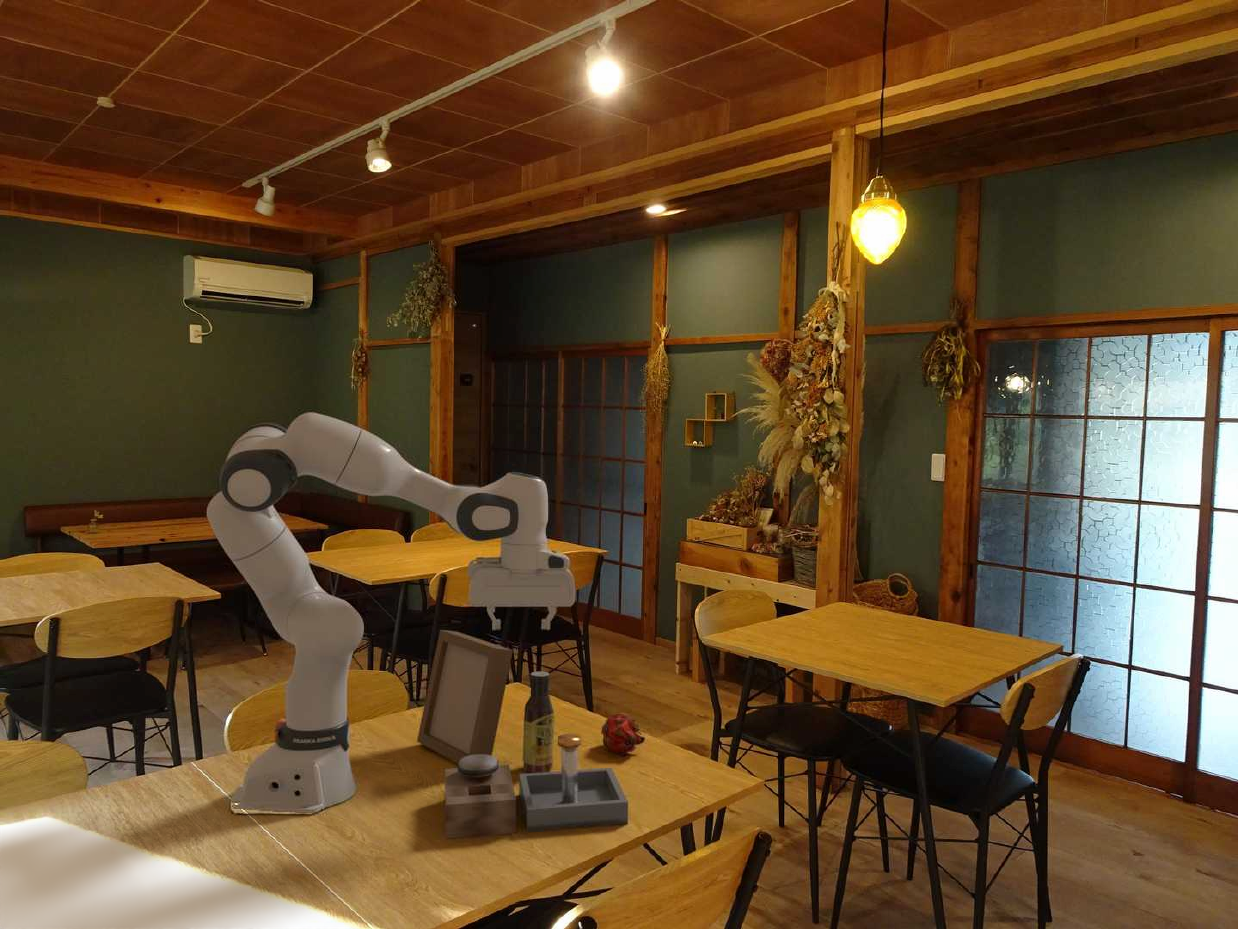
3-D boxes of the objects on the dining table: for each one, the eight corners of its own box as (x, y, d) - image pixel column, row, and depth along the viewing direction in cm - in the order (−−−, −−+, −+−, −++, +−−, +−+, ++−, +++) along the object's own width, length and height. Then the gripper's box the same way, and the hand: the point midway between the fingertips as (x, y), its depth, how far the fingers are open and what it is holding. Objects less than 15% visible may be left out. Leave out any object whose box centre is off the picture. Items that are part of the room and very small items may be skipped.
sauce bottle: (539, 777, 182) (539, 680, 181) (516, 770, 186) (516, 674, 185) (560, 767, 187) (560, 673, 186) (537, 760, 191) (538, 667, 190)
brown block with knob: (445, 839, 156) (445, 790, 155) (445, 800, 171) (445, 755, 171) (515, 833, 158) (515, 785, 157) (508, 795, 174) (508, 751, 173)
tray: (527, 832, 158) (527, 809, 158) (519, 794, 174) (519, 774, 174) (627, 824, 162) (628, 802, 162) (611, 787, 178) (611, 767, 177)
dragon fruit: (613, 746, 204) (633, 773, 193) (585, 729, 201) (604, 756, 190) (635, 715, 205) (657, 741, 194) (608, 698, 201) (628, 723, 190)
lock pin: (559, 808, 166) (559, 742, 165) (556, 799, 170) (555, 734, 169) (583, 806, 166) (583, 740, 166) (579, 797, 171) (579, 733, 170)
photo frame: (471, 775, 183) (472, 653, 182) (416, 746, 199) (417, 633, 198) (530, 758, 193) (531, 642, 192) (473, 731, 209) (475, 624, 208)
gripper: (468, 559, 168) (466, 633, 168) (578, 560, 172) (575, 632, 172) (467, 554, 174) (465, 626, 174) (573, 555, 178) (570, 625, 178)
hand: (521, 629), depth 173 cm, fingers open, 8 cm apart
